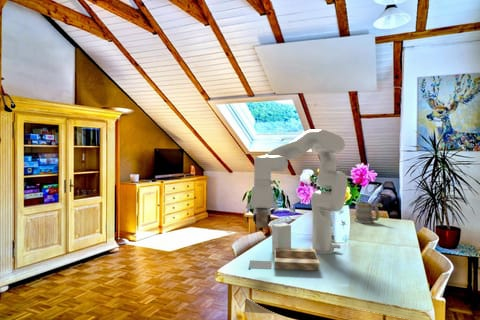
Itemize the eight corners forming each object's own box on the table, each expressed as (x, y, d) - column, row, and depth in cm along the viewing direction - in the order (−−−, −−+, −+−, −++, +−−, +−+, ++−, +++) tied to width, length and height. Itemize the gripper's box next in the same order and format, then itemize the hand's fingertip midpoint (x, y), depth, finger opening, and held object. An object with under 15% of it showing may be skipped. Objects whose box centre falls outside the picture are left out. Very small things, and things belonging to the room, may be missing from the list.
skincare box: (285, 250, 174) (285, 222, 173) (291, 253, 168) (291, 224, 168) (271, 252, 170) (271, 223, 170) (277, 255, 165) (277, 226, 164)
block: (267, 224, 153) (267, 207, 153) (267, 227, 146) (267, 209, 146) (256, 224, 153) (256, 207, 153) (256, 227, 146) (256, 209, 146)
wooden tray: (314, 259, 160) (314, 248, 160) (319, 274, 140) (320, 263, 140) (274, 257, 162) (274, 247, 162) (274, 272, 142) (274, 261, 142)
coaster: (271, 262, 155) (271, 261, 155) (271, 270, 145) (271, 268, 145) (250, 261, 156) (250, 260, 156) (248, 269, 146) (248, 267, 146)
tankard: (351, 221, 245) (351, 201, 245) (359, 219, 254) (359, 199, 253) (377, 226, 230) (378, 204, 230) (385, 223, 239) (386, 202, 239)
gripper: (281, 182, 152) (280, 222, 153) (244, 182, 154) (243, 221, 154) (281, 184, 145) (281, 225, 145) (242, 183, 146) (242, 224, 147)
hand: (261, 222), depth 150 cm, fingers closed on block, 5 cm apart
